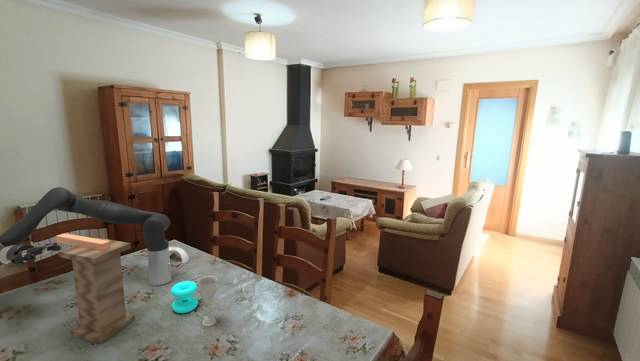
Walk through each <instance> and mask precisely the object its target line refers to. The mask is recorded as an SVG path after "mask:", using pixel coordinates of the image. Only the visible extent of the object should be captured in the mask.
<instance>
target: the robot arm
mask: <svg viewBox="0 0 640 361" xmlns="http://www.w3.org/2000/svg"><path fill="white" fill-rule="evenodd" d="M54 210H57V211H59V212H65V213H66V212H67V213H74V214H78V215H79V214H80V215H84V216H86V217H89V218H92V219H95V220H99V221H102V222H106V223H110V224H114V225H115V224H116V225H138V226H142V227H143V228H142V231H143V239H144V241H143V242H144V244H145V246H146V252H147V264H148V280H149V284H150V286H154V287H156V286H164V285H165V284H168V283H169V282H172V281H173V280H172V265H171V264H172V263H171V261H170V260H171V259H170V256H169V247H170V244H169V240H168V239H166V234H165V233H166V231H167V229H169V227H170V225H171V219H170V218H169V217H168V215H166V214H164V213H159V212H156V211H155V212H152V211H148V210H142V209H138V208H135V207H131V206H127V205H124V204H121V203H116V202H114V201H113V202H112V201H109V200H98V199H97V200H96V199H94V200H93V199H88V198H85V197H83V196H79V195H77V194H75V193H73V192H72V191H70V190H69V189H67V188H66V187H61V186H57V187H54V188H51V189H50V190H48V191H47V192H45V194H44V195H43V196H42V197H41V198H40V199H39V201H38V202H36V204H35V205H34V206H33V207H31V208H30V209H29V211H28V212H27V213H26V214H25V215H24V216H23V217H21V218H20V219H19V220H18V221H17V222H16V223H15V224H13V225H12V226H11V227H9V228H8V229H6V230H5V231H4V232H3V233H2V234H0V244H1V245H0V267H1V266H3V265H8V266H9V265H11V266H14V265H15V266H18V265H25V264H29V263H31V262H33V261H36V260H37V258H38V257H40V256H44V255H47V254H48V253H50V252H59V251H61V248H62V247H61V245H59V244H58V243H57V242H51V243H44V244H43V245H39V246H34V245H32V244H30V243H24V244H23V242H24V241H25V240H26V239H28V238H29V237H30V236H31V235H32V234H33V233H34V232H35V231H36V229H37V227H39V225H40V223H41V222H42V220H43V219H44V218H45V217H46V216H47V215H49V213H51V212H53V211H54Z"/></svg>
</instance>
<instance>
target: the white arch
mask: <svg viewBox="0 0 640 361" xmlns="http://www.w3.org/2000/svg"><path fill="white" fill-rule="evenodd" d="M174 252H176V253H178V254H179V256H180V257H181V264H185V263H188V262H189V261H190V257H189V254H188V253H187V252H186V251H185V250H184V249H183V248H181V247H178V246H177V247H174V246H169V257H170V256H172V254H174Z"/></svg>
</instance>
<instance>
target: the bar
mask: <svg viewBox="0 0 640 361" xmlns="http://www.w3.org/2000/svg"><path fill="white" fill-rule="evenodd" d="M55 242H56V243H57V244H64V245H69V246H72V247H73V246H79V247H84V248H90V249H95V250H101V251H103V250H106V249H108V248H110V241H107V240H101V239H95V238H94V237H88V236H83V235H76V234H72V233H65V232H64V233H61V234H58V235H55Z"/></svg>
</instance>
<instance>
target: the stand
mask: <svg viewBox="0 0 640 361" xmlns="http://www.w3.org/2000/svg"><path fill="white" fill-rule="evenodd" d="M95 239H101V240H107V241H110V248H108V249H106V250H103V251H101V250H95V249H90V248H84V247H79V246H73V245H72V246H70V247H67V248H65V249H62V250H59V251H57V253H58V254H57V255H58V258H61V259H67V260H71V262H72V264H71V265H72V272H73V278H74V279H73V280H74V285H75V286H74V287H75V296H76V303H77V309H78V310H77V312H78V319H79V320H78V321H79V325H77V326H76V327H74V328H72V329H71V330H70V335H71V336H72V337H76V338H79V339H83V340H86V341H90V342H93V343H97V344H100V345H101V344H103V343H105V342H106V341H107V340H108V339H111V338H112V337H113V336H115V335H116V334H117V333H119V332H120V331H121V330H123V329H125V328H126V327H127V326H129V325H131V324H132V323H133V322H135V321H136V316H135V315H134V314H131V313H127V312H126V303H125V300H126V299H125V290H124V280H123V270H122V269H123V268H122V259H121V253H124V252H126V251H128V250H131V248H132V247H131V242H127V241H126V242H124V241H119V240H114V239H107V238H102V237H96V238H95Z"/></svg>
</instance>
